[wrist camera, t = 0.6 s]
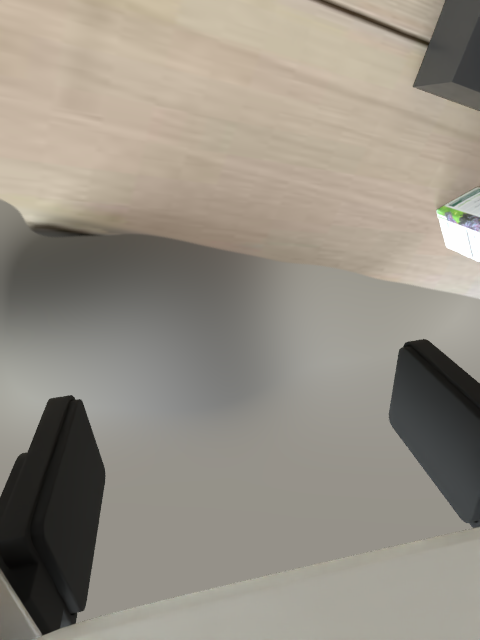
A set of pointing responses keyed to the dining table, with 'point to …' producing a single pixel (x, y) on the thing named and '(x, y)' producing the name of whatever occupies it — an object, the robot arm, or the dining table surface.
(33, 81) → the dining table surface
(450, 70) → the push button box
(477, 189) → the syrup box
